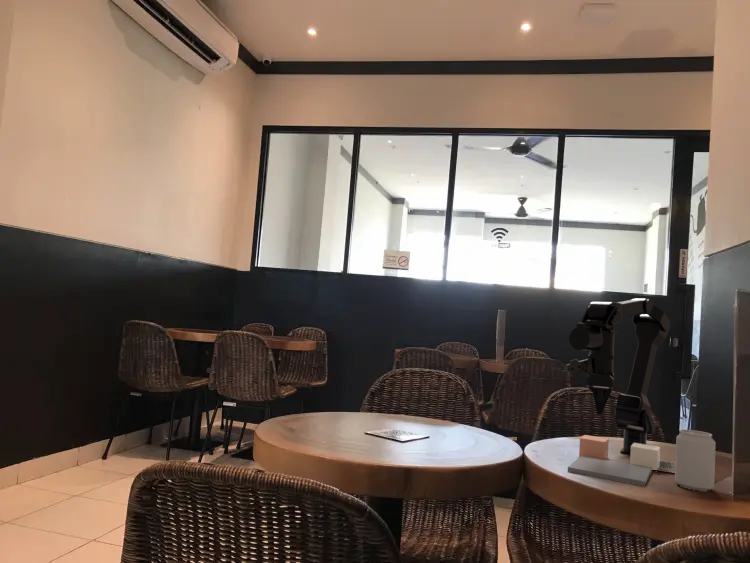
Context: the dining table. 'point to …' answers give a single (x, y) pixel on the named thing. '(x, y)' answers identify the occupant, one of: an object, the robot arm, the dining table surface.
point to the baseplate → (611, 470)
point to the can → (695, 460)
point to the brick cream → (645, 455)
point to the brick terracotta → (594, 447)
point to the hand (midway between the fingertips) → (599, 411)
